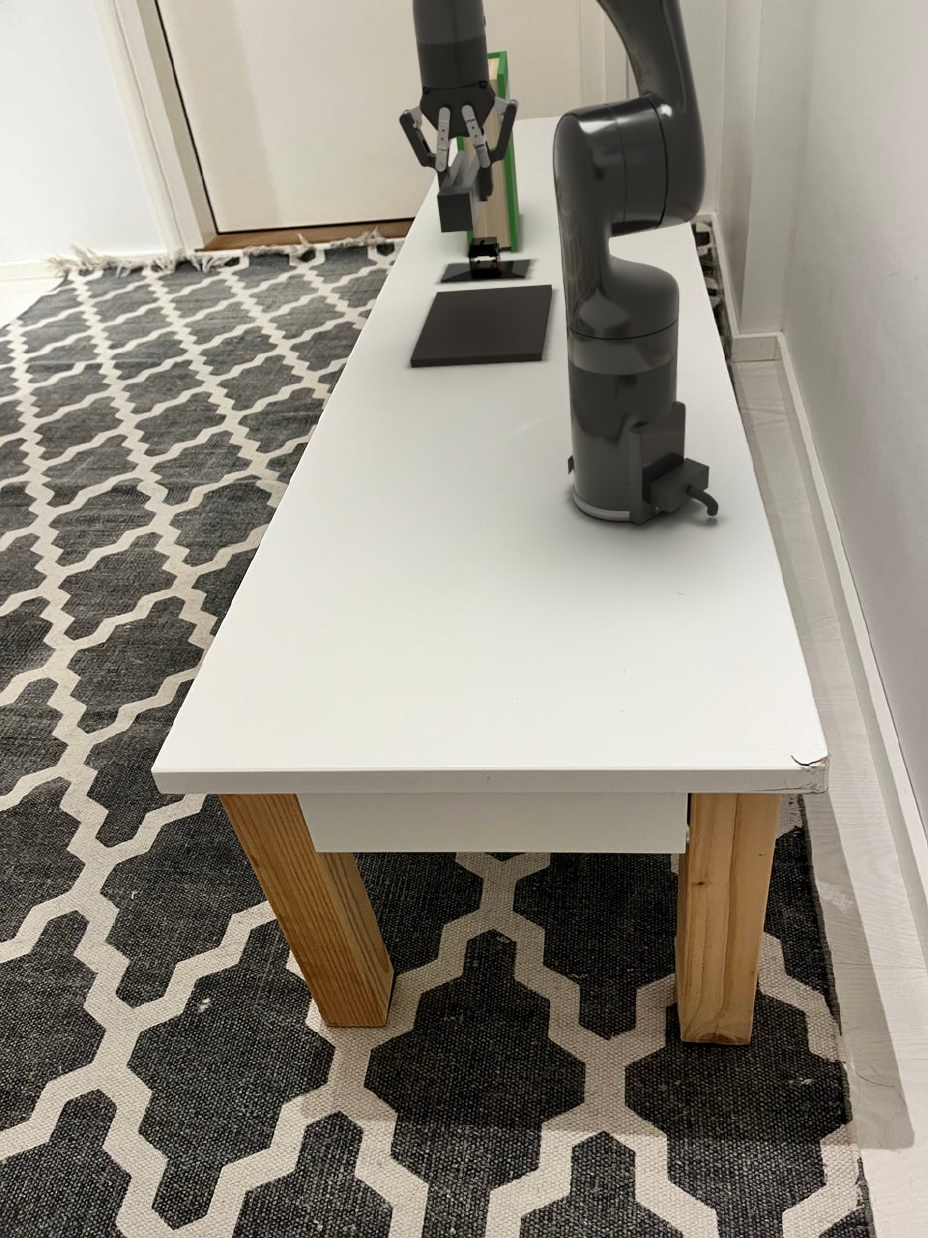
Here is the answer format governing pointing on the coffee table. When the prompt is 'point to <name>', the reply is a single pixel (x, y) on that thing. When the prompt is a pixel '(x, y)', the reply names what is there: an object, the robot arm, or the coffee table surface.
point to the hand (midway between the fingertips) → (468, 200)
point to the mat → (484, 326)
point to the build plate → (485, 264)
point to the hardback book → (497, 169)
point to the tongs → (460, 195)
